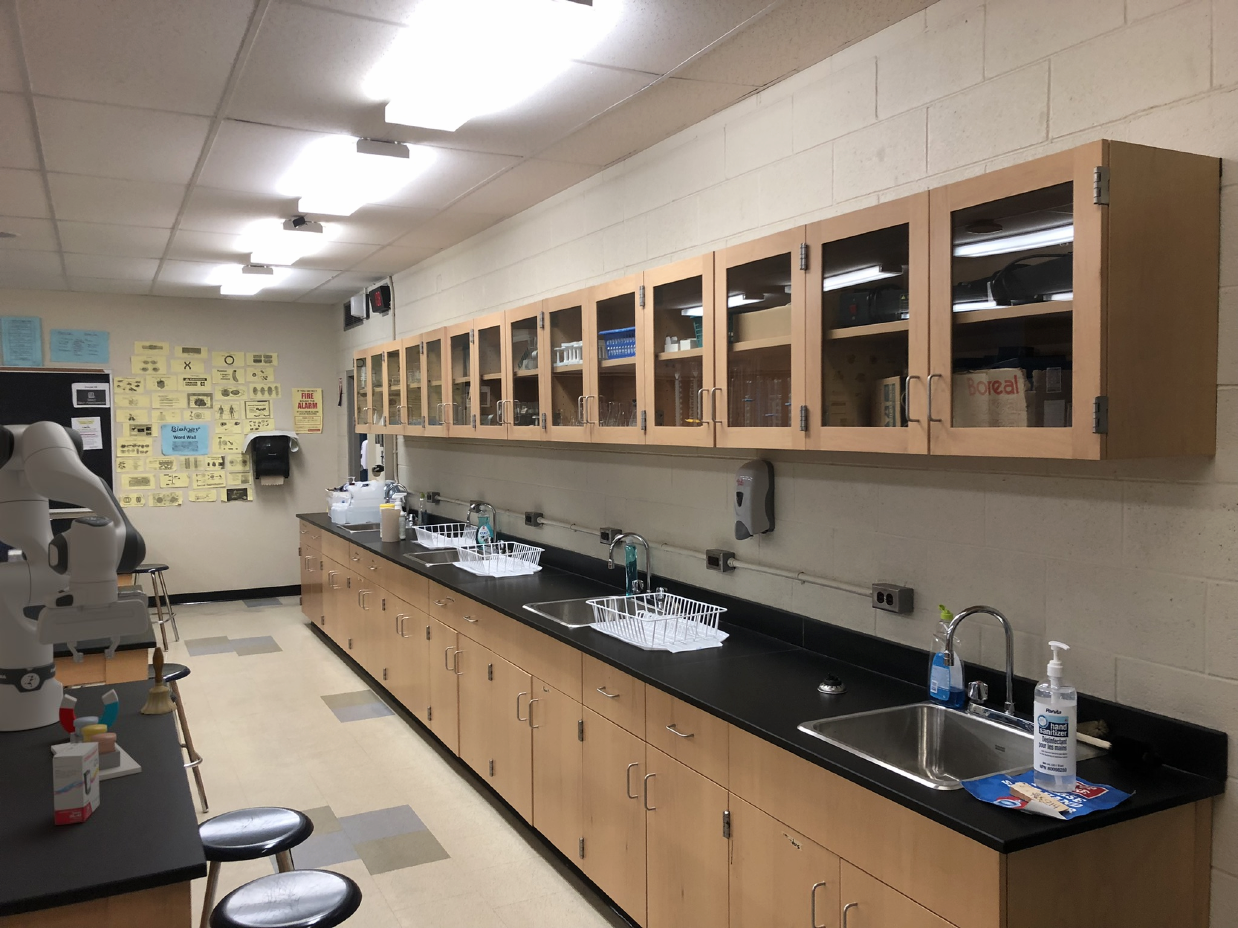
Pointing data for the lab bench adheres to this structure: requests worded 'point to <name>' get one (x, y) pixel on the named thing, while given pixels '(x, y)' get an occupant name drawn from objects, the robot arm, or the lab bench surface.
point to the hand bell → (158, 689)
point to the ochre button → (92, 731)
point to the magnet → (107, 719)
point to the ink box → (76, 782)
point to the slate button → (84, 724)
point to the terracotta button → (104, 742)
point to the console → (107, 760)
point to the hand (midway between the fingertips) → (94, 660)
